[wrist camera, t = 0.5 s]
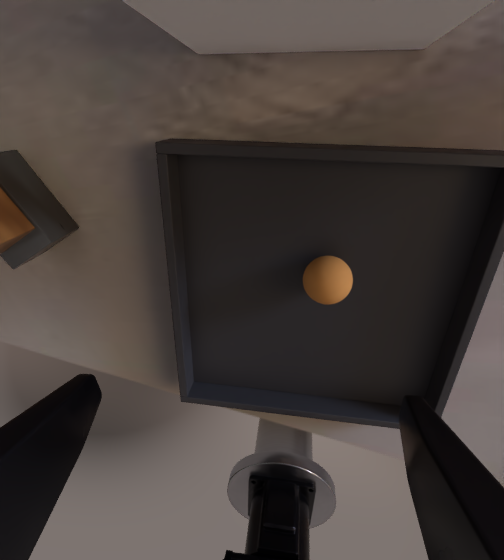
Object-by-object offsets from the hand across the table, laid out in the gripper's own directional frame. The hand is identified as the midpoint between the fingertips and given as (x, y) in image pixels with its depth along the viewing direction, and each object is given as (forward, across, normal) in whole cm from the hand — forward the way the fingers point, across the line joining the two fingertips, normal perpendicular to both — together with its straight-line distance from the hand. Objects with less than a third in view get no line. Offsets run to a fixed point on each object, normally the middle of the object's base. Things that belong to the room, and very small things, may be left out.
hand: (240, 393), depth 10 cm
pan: (+14, -3, +6) cm, 15 cm away
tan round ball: (+12, -3, +3) cm, 13 cm away
